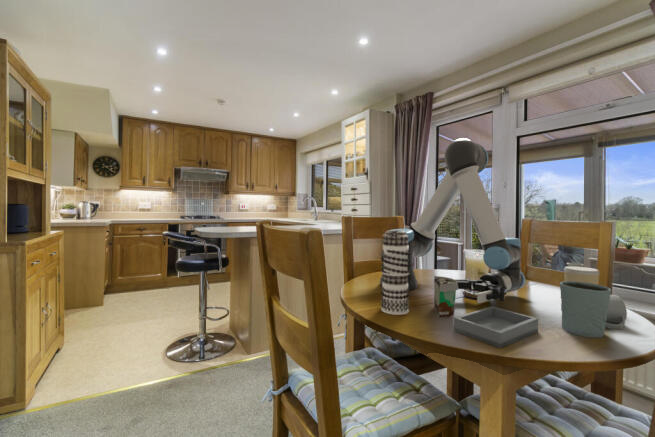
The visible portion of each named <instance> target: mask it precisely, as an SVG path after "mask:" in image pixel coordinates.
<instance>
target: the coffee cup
mask: <svg viewBox="0 0 655 437" xmlns="http://www.w3.org/2000/svg"><path fill="white" fill-rule="evenodd" d="M563 271H564V274H563V276H564V281H574V282H584V283H591V284H596V285H599V278H600V274H601V273H600V271H599V269H598V268H593V267H587V266H576V265H575V266H572V265H571V266H570V265H569V266H565V267H564V268H563Z"/></svg>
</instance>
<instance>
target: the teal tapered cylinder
mask: <svg viewBox="0 0 655 437" xmlns="http://www.w3.org/2000/svg"><path fill="white" fill-rule="evenodd" d="M559 286H560V299H561V300H560V302H561V303H560V304H561V305H560V307H561V308H560V310H561V327H562V330H564V331H566V332H568V333H571V334H573V335H577V336H582V337H586V338H597V339H598V338H603V337H604V336H605V333H606V332H605V331H606V327H605V325H606V324H605V322H606V318H607V313H608V312H607V308H608V306H609V301H610V295H612V289H611V288H609V287H607V286H604V285H600V284H598V285H596V284H591V283H584V282H574V281H565V280H563V281H561V282H559Z"/></svg>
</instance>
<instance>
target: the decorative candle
mask: <svg viewBox="0 0 655 437" xmlns="http://www.w3.org/2000/svg"><path fill="white" fill-rule="evenodd" d="M382 237H383V239H382V242H383V244H382V250H383V251H381V252H380V256H381V257H380V260H381V264H380V267H381V269H380V271H381V275H382V274H383V282H382V286H383V287H382V286H381V287H380V290H381V291H382V292H381V293H380V295H381V296H382V297H381V298H380V300H381V303H380V305H381V308H380V310H381V312H383V313H384V314H389V315H393V316H394V315H395V316H398V315H399V316H400V315H401V316H402V315H407V314H409V311H410V310H409V308H410V304H409V303H410V300H409V297H410V294H409V292H410V290H409V289H408V275H409V272H410V271H408V269H407V268H408V267H410V264H407V262H410V259H408V256H409V255H411V253H409V252H408V251H409V250H411V249H409V245H408V235H407V234H406V232H405V231H402V230H393V229H390V230H389V229H388V230H386V231H385V232H384V234H382Z"/></svg>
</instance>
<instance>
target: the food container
mask: <svg viewBox="0 0 655 437" xmlns="http://www.w3.org/2000/svg"><path fill="white" fill-rule="evenodd" d="M433 284H434V285H433V293H434V294H433V295H434V296H433V297H434V299H433V300H434V301H433V302H434V303H433V305H434V306H433V307H434V310H435V311H436V314H437V316H438V318H450V317H453V316H454V315H455V305H456V296H457V295H456V293H457V292H456V291H458V290H459V289H458V284H457V281H456V280H455V279H454V278H451V277H446V276H440V275H439V276H438V275H434V277H433Z"/></svg>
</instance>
